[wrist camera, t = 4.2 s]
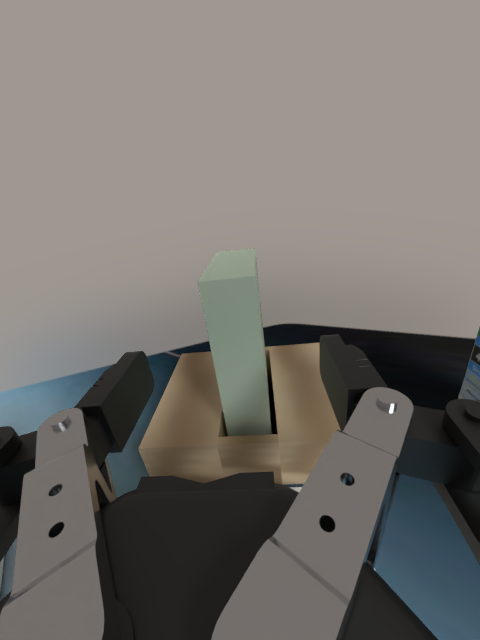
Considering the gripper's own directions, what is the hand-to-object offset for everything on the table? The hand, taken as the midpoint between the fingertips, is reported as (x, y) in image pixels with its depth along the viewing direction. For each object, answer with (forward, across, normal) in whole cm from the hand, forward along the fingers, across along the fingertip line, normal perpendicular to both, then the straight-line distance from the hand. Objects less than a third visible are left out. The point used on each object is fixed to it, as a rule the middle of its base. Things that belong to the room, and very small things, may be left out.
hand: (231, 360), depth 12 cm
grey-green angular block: (+7, 0, +11) cm, 13 cm away
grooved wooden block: (+7, 0, +11) cm, 13 cm away
